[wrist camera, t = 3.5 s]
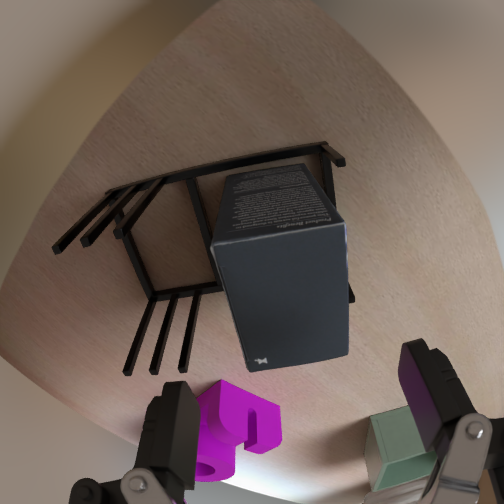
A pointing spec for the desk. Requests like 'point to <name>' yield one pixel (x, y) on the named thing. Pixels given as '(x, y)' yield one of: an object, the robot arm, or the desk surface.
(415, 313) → the desk surface
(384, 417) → the green storage bin
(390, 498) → the table lamp
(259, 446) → the magenta mechanical bracket
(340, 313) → the box
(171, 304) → the rack
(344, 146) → the desk surface
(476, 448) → the robot arm
